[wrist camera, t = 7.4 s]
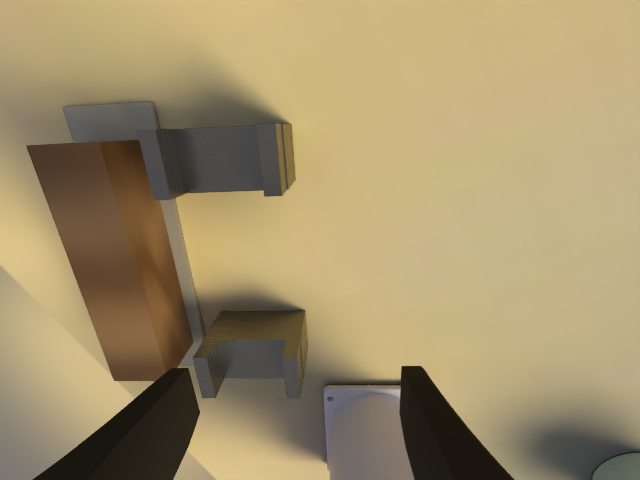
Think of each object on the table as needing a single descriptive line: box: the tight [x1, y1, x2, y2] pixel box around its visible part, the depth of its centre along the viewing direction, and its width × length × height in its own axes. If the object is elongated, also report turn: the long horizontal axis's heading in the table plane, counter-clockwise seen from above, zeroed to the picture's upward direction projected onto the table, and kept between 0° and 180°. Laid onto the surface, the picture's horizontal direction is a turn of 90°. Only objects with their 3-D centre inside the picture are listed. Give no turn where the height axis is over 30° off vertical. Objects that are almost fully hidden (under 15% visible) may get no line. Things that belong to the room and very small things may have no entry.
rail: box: [26, 140, 194, 381], centre depth 18 cm, size 14×4×4 cm, turn 3°
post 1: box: [137, 123, 296, 200], centre depth 15 cm, size 3×6×4 cm, turn 93°
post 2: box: [193, 311, 308, 398], centre depth 19 cm, size 3×6×4 cm, turn 93°
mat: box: [63, 102, 205, 365], centre depth 19 cm, size 18×5×1 cm, turn 3°
